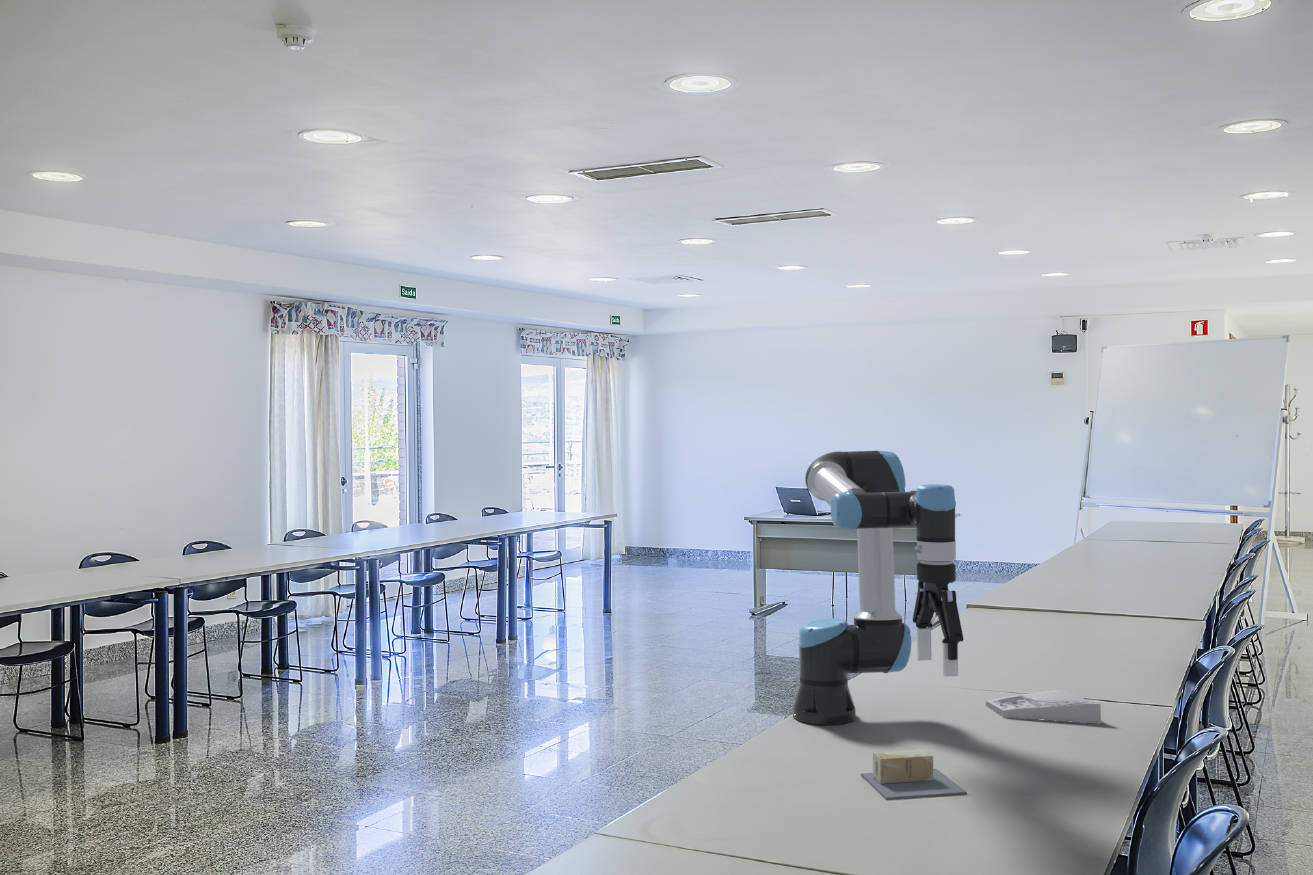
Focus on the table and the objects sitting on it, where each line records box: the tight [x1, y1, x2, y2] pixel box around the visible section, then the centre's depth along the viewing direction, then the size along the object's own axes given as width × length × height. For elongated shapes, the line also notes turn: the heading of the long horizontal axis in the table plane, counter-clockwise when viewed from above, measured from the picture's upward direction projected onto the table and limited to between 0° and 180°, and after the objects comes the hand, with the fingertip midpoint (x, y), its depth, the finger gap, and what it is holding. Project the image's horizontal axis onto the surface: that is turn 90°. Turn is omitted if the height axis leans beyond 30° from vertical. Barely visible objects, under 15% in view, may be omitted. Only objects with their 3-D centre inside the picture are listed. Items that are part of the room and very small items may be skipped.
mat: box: [860, 768, 968, 800], centre depth 200 cm, size 14×16×1 cm
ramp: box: [985, 689, 1102, 725], centre depth 248 cm, size 28×16×5 cm, turn 53°
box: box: [872, 748, 934, 784], centre depth 201 cm, size 5×4×11 cm
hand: (937, 667), depth 205 cm, fingers open, 13 cm apart
